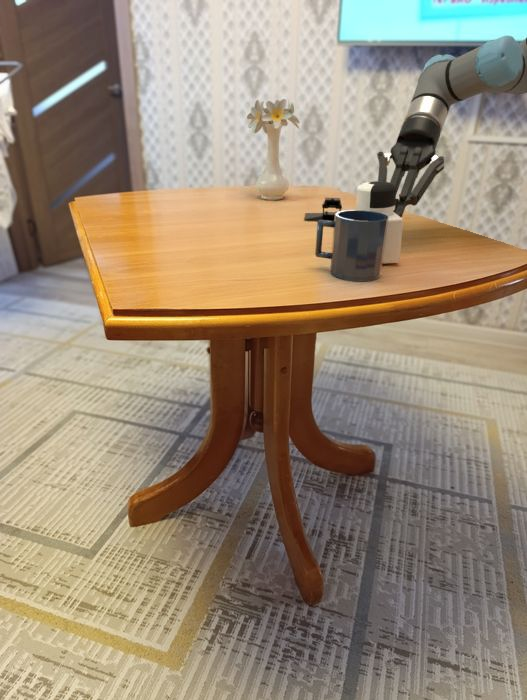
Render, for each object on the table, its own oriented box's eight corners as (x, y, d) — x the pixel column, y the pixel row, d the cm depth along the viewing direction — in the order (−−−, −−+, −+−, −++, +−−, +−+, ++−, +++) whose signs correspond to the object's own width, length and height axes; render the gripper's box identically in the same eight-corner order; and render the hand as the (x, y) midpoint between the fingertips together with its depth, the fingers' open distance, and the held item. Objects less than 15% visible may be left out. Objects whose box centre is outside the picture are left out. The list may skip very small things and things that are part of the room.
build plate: (304, 221, 118) (305, 200, 116) (305, 214, 125) (306, 195, 122) (358, 223, 117) (360, 202, 115) (356, 216, 124) (358, 196, 121)
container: (387, 250, 95) (392, 178, 89) (400, 263, 88) (406, 185, 82) (346, 253, 95) (349, 180, 89) (356, 265, 88) (359, 188, 82)
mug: (384, 270, 86) (392, 213, 82) (374, 284, 79) (382, 223, 75) (321, 261, 90) (325, 206, 86) (306, 274, 83) (310, 215, 79)
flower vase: (271, 190, 153) (273, 98, 141) (307, 201, 139) (313, 99, 127) (233, 194, 146) (232, 97, 135) (267, 205, 132) (269, 98, 121)
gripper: (456, 145, 99) (421, 248, 93) (390, 140, 104) (354, 238, 99) (456, 115, 92) (419, 225, 87) (386, 113, 98) (346, 216, 92)
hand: (384, 232), depth 93 cm, fingers closed
